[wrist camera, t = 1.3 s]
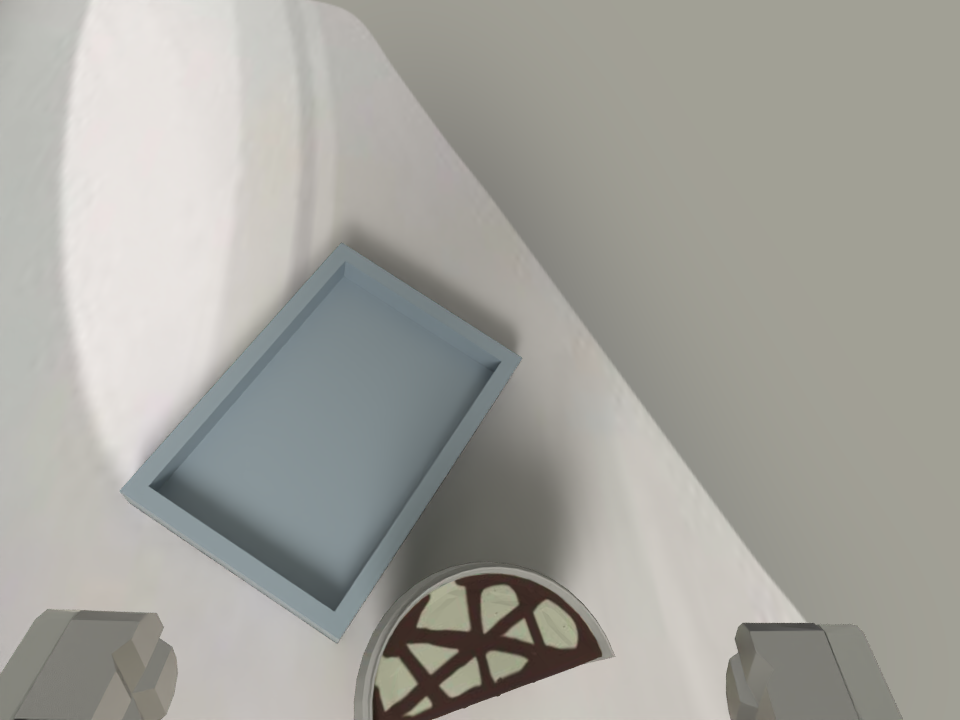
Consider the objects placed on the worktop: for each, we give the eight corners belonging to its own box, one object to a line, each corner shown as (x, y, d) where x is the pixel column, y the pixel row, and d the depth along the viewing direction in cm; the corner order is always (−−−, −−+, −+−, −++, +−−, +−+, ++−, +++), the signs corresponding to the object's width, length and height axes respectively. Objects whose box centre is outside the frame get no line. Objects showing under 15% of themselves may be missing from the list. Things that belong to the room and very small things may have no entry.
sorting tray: (129, 502, 42) (119, 490, 40) (339, 262, 51) (341, 242, 49) (337, 643, 41) (339, 639, 39) (512, 373, 50) (522, 357, 48)
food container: (524, 560, 45) (578, 522, 36) (559, 665, 43) (625, 652, 34) (320, 624, 41) (325, 599, 32) (348, 743, 39) (361, 751, 30)
